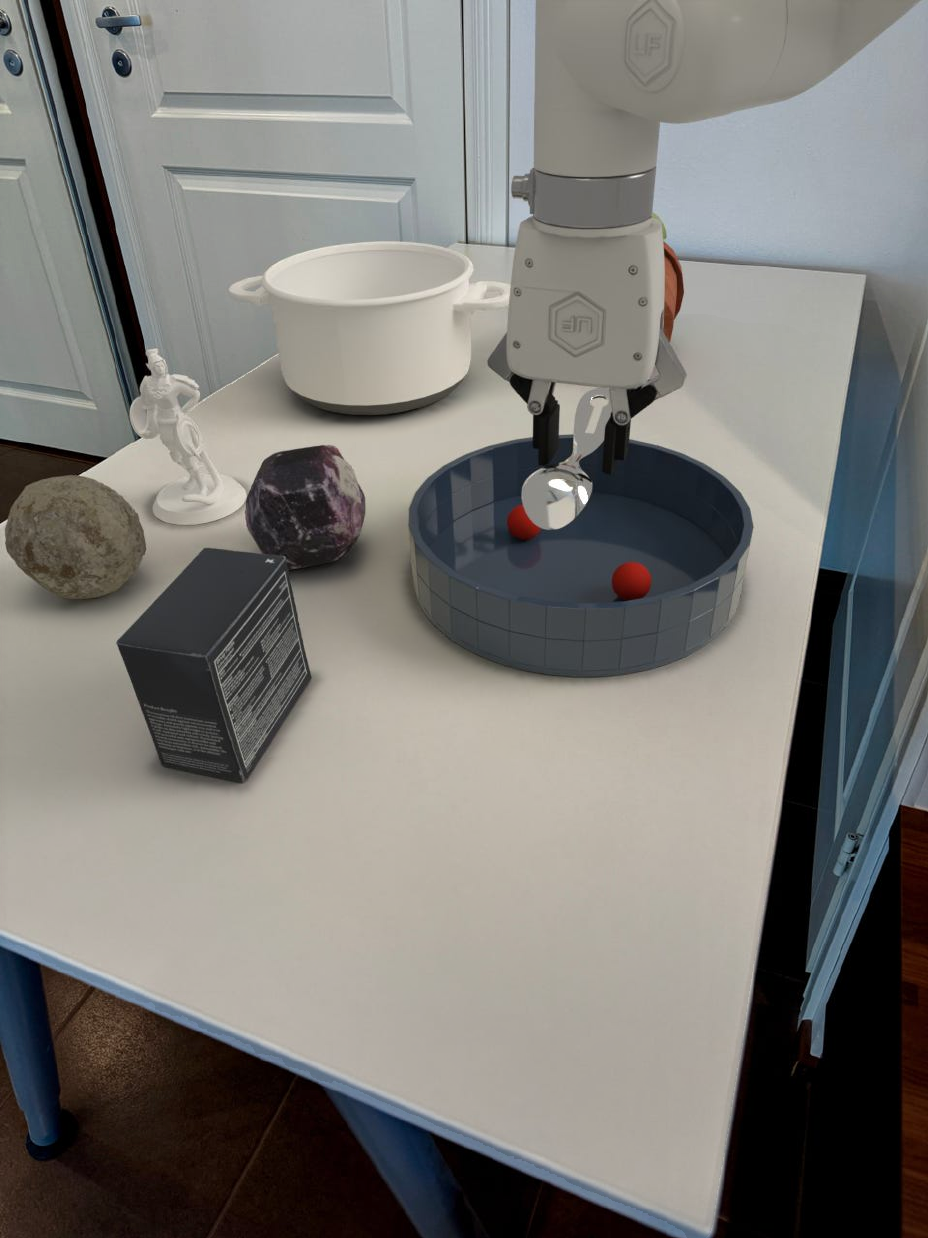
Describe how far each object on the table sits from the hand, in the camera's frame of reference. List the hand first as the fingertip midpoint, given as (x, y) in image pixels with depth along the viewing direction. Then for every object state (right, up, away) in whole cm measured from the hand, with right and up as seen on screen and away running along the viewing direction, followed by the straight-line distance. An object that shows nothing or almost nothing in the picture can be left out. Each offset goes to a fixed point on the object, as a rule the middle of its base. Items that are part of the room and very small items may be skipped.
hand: (579, 459), depth 66 cm
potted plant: (+11, +26, +50) cm, 58 cm away
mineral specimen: (-22, -6, +10) cm, 25 cm away
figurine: (-34, -1, +18) cm, 38 cm away
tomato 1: (-4, -4, +9) cm, 10 cm away
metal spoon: (0, 0, 0) cm, 1 cm away
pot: (-19, +16, +39) cm, 46 cm away
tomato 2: (+4, -9, +1) cm, 10 cm away
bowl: (0, -8, +6) cm, 10 cm away
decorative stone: (-39, -9, +7) cm, 41 cm away
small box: (-24, -19, -6) cm, 31 cm away
